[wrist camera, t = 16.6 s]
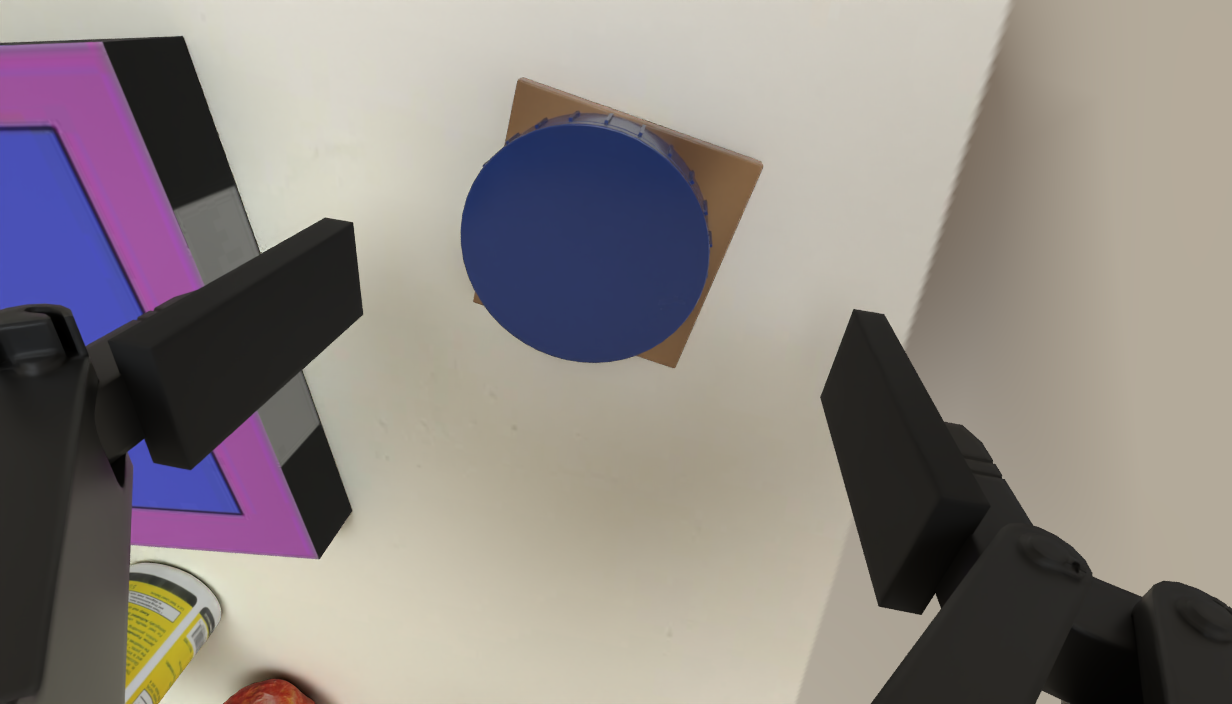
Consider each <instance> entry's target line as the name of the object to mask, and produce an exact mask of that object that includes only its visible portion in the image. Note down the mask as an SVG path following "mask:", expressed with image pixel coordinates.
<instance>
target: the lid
mask: <svg viewBox="0 0 1232 704" xmlns="http://www.w3.org/2000/svg"><path fill="white" fill-rule="evenodd" d="M613 115H614V113H610V114H609V115H605V114H598V113H580V111H576V112H574V113H573V114H568V115H562V116H558V117H555V118H551V119H548V118H547V117H546V118H544V119H542V120H541V121H540V122H538V123H537V124H536V125H535V126H532V127H531V128H529V129H528V130H526V131H525V132H523V133H522V134H519V132H518V133H517V134H515V135H514V136H513V137H511V138H510V139H509V140H507V141H506V142H505V143H506V146H504V147H503V148H502V149H501V150H500V151H498V152H497V153H496V154H495V155H494V156H493V157H492V158H491V159H490V160H489V161H487V162H486V163H485V164H484V165H483V168H482V170H481V171H480V173H479V174H478V176H477V178H476V179H475V181H474V182H473V184H472V186H471V189H470V191H469V194H468V196H467V198H466V202H465V206H464V210H463V214H462V222H461V247H462V254H463V260H464V264H465V267H466V271H467V274H468V277H469V279H470V281H471V284H472V286H473V288H474V290H475V292H476V294H477V295H478V297H479V299H480V300H481V302H482V303H483V305H484V306H485V308H486V309H487V310H488V312H489V313H490V314H491V315H492V316H493V317H494V318H495V320H496V321H497V322H498V323H499V324H500V325H501V326H502V327H504V328H505V329H506V330H507V331H508V332H509V333H511V334H512V335H513V336H515V337H516V338H518V339H519V340H520V341H522V342H523V343H525V344H527V345H529V346H531V347H533V348H534V349H536V350H538V351H541V352H543V353H546V354H548V355H551V356H554V357H558V358H561V359H565V360H570V361H577V362H588V363H600V362H612V361H617V360H623V359H626V358H630V357H633V356H636V355H639V354H641V353H643V352H645V351H648V350H650V349H652V348H653V347H655V346H657V345H658V344H660V343H662V342H663V341H665V340H666V339H667V338H668V337H669V336H671V335H672V334H673V333H674V332H675V331H676V330H677V329H678V328H679V327H680V326H681V325H682V324H683V323H684V322H685V321H686V319H687V318H688V317H689V315H690V314H691V312H692V311H693V310H694V308H695V306H696V304H697V302H698V300H699V298H700V296H701V294H702V291H703V288H704V285H705V283H706V278H708V269H709V258H710V247H712V232H711V231H709V226H708V204H707V200H704V198H703V195H702V193H701V190H700V187H699V185H698V183H697V181H696V179H695V172H694V170H692V171H691V170H690V169H689V167H688V166H687V165H686V163H685V162H684V160H683V159H682V158H681V157H680V156H679V155H678V154H677V152H676V151H675V150H674V149H673V148H674V146H673V145H672V144H671V145H669V144H667V143H666V142H665V141H664V140H662V139H661V138H660V137H659V136H657V135H656V134H654V133H653V132H651V131H649V130H648V129H646V128H645V127H646V125H644V124H643V125H642V126H640V125H638V124H636V123H633V122H631V121H629V120H626V119H622V118H619V117H616V116H613Z"/></svg>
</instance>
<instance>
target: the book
mask: <svg viewBox="0 0 1232 704" xmlns="http://www.w3.org/2000/svg"><path fill="white" fill-rule="evenodd" d="M258 255H260V252H259V249H258V246H257V243H256V240H255V238H254V235H253V232H252V229H251V226H250V224H249V221H248V218H247V215H246V212H245V210H244V207H243V204H242V201H241V198H240V196H239V193H238V190H237V187H236V184H235V182H234V179H233V176H232V173H231V170H230V168H229V165H228V162H227V159H226V156H225V154H224V151H223V148H222V145H221V142H220V140H219V137H218V134H217V131H216V128H215V126H214V123H213V120H212V117H211V114H210V112H209V109H208V106H207V103H206V100H205V98H204V95H203V92H202V89H201V86H200V84H199V81H198V78H197V75H196V72H195V70H194V67H193V64H192V61H191V58H190V56H189V53H188V50H187V47H186V44H185V42H184V39H183V36H176V37H149V38H122V39H95V40H68V41H40V42H13V43H0V310H1V309H4V308H9V307H14V306H20V305H26V304H45V303H46V304H55V305H62V306H64V307H66V308H69V309H71V311H72V314H73V316H74V319H75V321H76V324H77V326H78V329H79V331H80V334H81V336H82V339H83V341H84V344H85V346H86V345H88V344H90V343H92V342H94V341H95V340H97V339H99V338H101V337H103V336H104V335H106V334H108V333H110V332H112V331H114V330H115V329H117V328H119V327H121V326H123V325H124V324H126V323H128V322H130V321H132V320H137V317H139V316H141V315H142V314H144V313H146V312H148V311H150V310H151V311H154V308H155V307H157V306H159V305H161V304H162V303H164V302H166V301H168V300H170V299H171V298H173V297H176V296H179V295H182V294H185V293H188V292H192V291H195V290H198V289H200V288H201V287H203V286H205V285H207V284H208V283H210V282H212V281H214V280H216V279H217V278H219V277H221V276H223V275H224V274H226V273H228V272H230V271H232V270H233V269H235V268H237V267H239V266H240V265H242V264H244V263H246V262H247V261H249V260H251V259H253V258H255V257H256V256H258ZM128 454H129V457H130V459H131V462H132V464H133V491H132V518H131V545H138V546H151V547H164V548H178V549H191V550H204V551H217V552H230V553H244V554H257V555H270V556H283V557H296V558H309V559H320V558H321V556H322V555H323V553H324V552H325V550H326V549H327V547H328V546H329V544H330V543H331V542H332V540H333V539H334V537H335V536H336V534H337V533H338V531H339V530H340V528H341V527H342V525H343V524H344V522H345V521H346V519H347V518H348V516H349V515H350V513H351V512H352V509H351V507H350V504H349V501H348V498H347V495H346V493H345V490H344V487H343V484H342V481H341V479H340V476H339V473H338V470H337V467H336V465H335V462H334V459H333V456H332V453H331V451H330V448H329V445H328V442H327V439H326V437H325V434H324V431H323V428H322V425H321V423H320V420H319V417H318V414H317V411H316V409H315V406H314V403H313V400H312V397H311V394H310V392H309V389H308V386H307V383H306V380H305V378H304V375H303V372H302V370H301V371H300V372H299V373H298V374H297V375H296V376H295V377H294V378H292V379H291V380H290V381H289V382H288V383H287V384H286V385H285V386H284V387H283V388H281V389H280V390H279V391H278V392H277V393H276V394H275V395H274V396H273V397H271V398H270V399H269V400H268V401H267V402H266V403H265V404H264V405H263V406H262V407H260V408H259V409H258V410H257V411H256V412H255V413H254V414H253V415H252V416H250V417H249V418H248V419H247V420H246V421H245V422H244V423H243V424H242V425H241V426H239V427H238V428H237V429H236V430H235V431H234V432H233V433H232V434H231V435H229V436H228V437H227V438H226V439H225V440H224V441H223V442H222V443H221V444H220V445H218V446H217V447H216V448H215V449H214V450H213V451H212V452H211V453H210V454H208V455H207V456H206V457H205V458H204V459H203V460H202V461H201V462H200V463H199V464H197V465H196V466H195V467H194V468H193V469H192V470H186V469H181V468H176V467H171V466H166V465H161V464H156V463H153V461H152V458H151V456H150V453H149V450H148V448H147V445H146V442H145V440H144V439H143V440H142V441H141V442H140V443H138V444H137V445H136V446H134V447H133V448H132V449H131V450H129V451H128Z"/></svg>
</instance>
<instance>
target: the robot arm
mask: <svg viewBox="0 0 1232 704" xmlns="http://www.w3.org/2000/svg"><path fill="white" fill-rule="evenodd" d="M362 315H363V308H362V299H361V290H360V281H359V272H358V262H357V253H356V244H355V235H354V226H353V222H348V221H342V220H336V219H330V218H324V219H322V220H320V221H318V222H317V223H315V224H313V225H311V226H310V227H308V228H306V229H304V230H302V231H301V232H299V233H297V234H295V235H294V236H292V237H290V238H288V239H286V240H285V241H283V242H281V243H279V244H278V245H276V246H274V247H272V248H271V249H269V250H267V251H265V252H263V253H262V254H260V255H258V256H256V257H255V258H253V259H251V260H249V261H247V262H246V263H244V264H242V265H240V266H239V267H237V268H235V269H233V270H232V271H230V272H228V273H226V274H224V275H223V276H221V277H219V278H217V279H216V280H214V281H212V282H210V283H208V284H207V285H205V286H203V287H201V288H200V289H198V290H195V291H192V292H188V293H185V294H182V295H179V296H176V297H173V298H171V299H170V300H168V301H166V302H164V303H162V304H161V305H159V306H157V307H155V308H154V311H151V310H150V311H148V312H146V313H144V314H142V315H141V316H139V317H137V320H132V321H130V322H128V323H126V324H124V325H123V326H121V327H119V328H117V329H115V330H114V331H112V332H110V333H108V334H106V335H104V336H103V337H101V338H99V339H97V340H95V341H94V342H92V343H90V344H88V345H86V346H85V344H84V341H83V339H82V336H81V334H80V331H79V329H78V326H77V324H76V321H75V319H74V316H73V314H72V311H71V309H69V308H66V307H64V306H62V305H55V304H46V303H45V304H26V305H20V306H14V307H9V308H4V309H1V310H0V704H125V682H126V654H127V627H128V600H129V573H130V545H131V518H132V491H133V464H132V462H131V459H130V457H129V454H128V451H129V450H131V449H132V448H133V447H134V446H136V445H137V444H138V443H140V442H141V441H142V440H143V439H144V440H145V442H146V445H147V448H148V450H149V453H150V456H151V458H152V461H153V463H156V464H161V465H166V466H171V467H176V468H181V469H186V470H192V469H193V468H194V467H195V466H196V465H197V464H199V463H200V462H201V461H202V460H203V459H204V458H205V457H206V456H207V455H208V454H210V453H211V452H212V451H213V450H214V449H215V448H216V447H217V446H218V445H220V444H221V443H222V442H223V441H224V440H225V439H226V438H227V437H228V436H229V435H231V434H232V433H233V432H234V431H235V430H236V429H237V428H238V427H239V426H241V425H242V424H243V423H244V422H245V421H246V420H247V419H248V418H249V417H250V416H252V415H253V414H254V413H255V412H256V411H257V410H258V409H259V408H260V407H262V406H263V405H264V404H265V403H266V402H267V401H268V400H269V399H270V398H271V397H273V396H274V395H275V394H276V393H277V392H278V391H279V390H280V389H281V388H283V387H284V386H285V385H286V384H287V383H288V382H289V381H290V380H291V379H292V378H294V377H295V376H296V375H297V374H298V373H299V372H300V371H301V370H302V369H303V368H305V367H306V366H307V365H308V364H309V363H310V362H311V361H312V360H313V359H315V358H316V357H317V356H318V355H319V354H320V353H321V352H322V351H323V350H324V349H326V348H327V347H328V346H329V345H330V344H331V343H332V342H333V341H334V340H336V339H337V338H338V337H339V336H340V335H341V334H342V333H343V332H344V331H345V330H347V329H348V328H349V327H350V326H351V325H352V324H353V323H354V322H355V321H357V320H358V319H359V318H360V317H361V316H362ZM820 398H821V402H822V405H823V409H824V412H825V416H826V419H827V423H828V427H829V430H830V434H831V437H832V441H833V445H834V448H835V452H836V455H837V459H838V463H839V466H840V470H841V473H842V477H843V480H844V484H845V488H846V491H847V495H848V498H849V502H850V506H851V509H852V513H853V516H854V520H855V523H856V527H857V531H858V534H859V538H860V541H861V545H862V548H863V552H864V556H865V559H866V563H867V567H868V570H869V574H870V577H871V581H872V584H873V588H874V592H875V595H876V599H877V602H878V606H879V607H884V608H889V609H894V610H899V611H904V612H909V613H915V614H919V615H922V613H923V612H924V610H925V609H926V607H927V605H928V604H929V602H930V601H931V599H932V598H933V596H934V594H935V593H936V596H937V599H938V601H939V604H940V606H941V610H940V611H939V612H938V614H937V615H936V617H935V618H934V619H933V621H932V622H931V623H930V625H929V626H928V627H927V629H926V630H925V632H924V633H923V634H922V636H921V637H920V638H919V639H918V641H917V642H916V644H915V645H914V646H913V648H912V649H911V650H910V652H909V653H908V655H907V656H906V657H905V658H904V660H903V661H902V662H901V664H900V665H899V666H898V668H897V669H896V671H895V672H894V673H893V674H892V676H891V677H890V679H889V680H888V681H887V683H886V684H885V685H884V687H883V688H882V689H881V691H880V692H879V693H878V695H877V696H876V697H875V699H874V700H873V701H872V703H871V704H1035V703H1036V701H1037V699H1038V697H1039V695H1040V692H1041V691H1044V692H1046V693H1048V694H1050V695H1053V696H1055V697H1057V698H1059V699H1061V704H1232V608H1230V607H1228V606H1227V605H1226V604H1225V603H1223V602H1222V601H1220V600H1218V599H1217V598H1215V597H1212V596H1210V595H1209V594H1207V593H1205V592H1203V591H1201V590H1199V589H1197V588H1194V587H1191V586H1188V585H1185V584H1182V583H1180V582H1170V581H1162V582H1160V583H1157V584H1155V585H1153V586H1152V588H1151V589H1150V590H1149V591H1148V592H1147V593H1146V594H1145V595H1144V596H1143V597H1141V596H1138V595H1136V594H1134V593H1131V592H1129V591H1126V590H1124V589H1121V588H1119V587H1116V586H1114V585H1111V584H1109V583H1106V582H1104V581H1102V580H1099V579H1097V578H1095V577H1093V576H1092V572H1091V570H1090V568H1089V566H1088V565H1087V563H1086V561H1085V559H1084V558H1083V557H1082V556H1081V555H1080V554H1079V553H1078V552H1077V551H1076V550H1075V549H1074V548H1073V547H1072V546H1070V545H1069V544H1068V543H1066V542H1065V541H1063V540H1062V539H1060V538H1059V537H1057V536H1056V535H1054V534H1052V533H1050V532H1048V531H1046V530H1044V529H1042V528H1039V527H1036V526H1033V524H1032V523H1031V521H1030V520H1029V518H1028V516H1027V515H1026V513H1025V511H1024V510H1023V508H1022V507H1021V505H1020V503H1019V502H1018V500H1017V499H1016V497H1015V495H1014V494H1013V492H1012V490H1011V489H1010V487H1009V486H1008V484H1007V482H1006V481H1005V479H1002V474H1001V473H1000V471H999V469H998V468H997V466H996V464H993V460H992V458H991V456H990V455H989V453H988V451H987V450H986V448H985V447H984V445H983V443H982V442H981V441H980V440H979V439H977V438H976V437H975V436H974V435H973V434H972V433H971V432H969V431H968V430H967V429H966V428H965V427H964V426H963V425H959V424H953V423H948V422H944V421H943V419H942V417H941V416H940V414H939V412H938V410H937V408H936V407H935V405H934V403H933V401H932V399H931V398H930V396H929V394H928V392H927V390H926V389H925V387H924V385H923V383H922V381H921V380H920V378H919V376H918V374H917V373H916V371H915V369H914V367H913V365H912V364H911V362H910V360H909V358H908V356H907V354H906V353H905V351H904V349H903V347H902V345H901V344H900V342H899V340H898V338H897V336H896V335H895V333H894V331H893V329H892V327H891V326H890V324H889V322H888V320H887V318H886V317H885V315H884V314H879V313H874V312H868V311H862V310H856V309H853V312H852V315H851V317H850V320H849V323H848V325H847V328H846V331H845V333H844V336H843V338H842V341H841V344H840V346H839V349H838V352H837V354H836V357H835V360H834V362H833V365H832V368H831V370H830V373H829V375H828V378H827V381H826V383H825V386H824V389H823V391H822V394H821V397H820Z"/></svg>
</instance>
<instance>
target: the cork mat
mask: <svg viewBox="0 0 1232 704" xmlns="http://www.w3.org/2000/svg"><path fill="white" fill-rule="evenodd" d="M576 111H580V113H598V114H605V115H609V114H610V113H614V115H613V116H616V117H619V118H622V119H626V120H629V121H631V122H633V123H636V124H638V125H640V126H642V125H643V124H644V125H646V127H645V128H646V129H648V130H649V131H651V132H653V133H654V134H656V135H657V136H659V137H660V138H661V139H662V140H664V141H665V142H666V143H667V144H669V145H671V144H672V145H673V146H674V148H673V149H674V150H675V151H676V152H677V154H678V155H679V156H680V157H681V158H682V159H683V160H684V162H685V163H686V165H687V166H688V167H689V169H690V170H691V171H692V170H694V172H695V179H696V181H697V183H698V185H699V187H700V190H701V193H702V195H703V198H704V200H707V204H708V226H709V231H711V232H712V247H710V258H709V269H708V278H706V283H705V285H704V288H703V291H702V294H701V296H700V298H699V300H698V302H697V304H696V306H695V308H694V310H693V311H692V312H691V314H690V315H689V317H688V318H687V319H686V321H685V322H684V323H683V324H682V325H681V326H680V327H679V328H678V329H677V330H676V331H675V332H674V333H673V334H672V335H671V336H669V337H668V338H667V339H666V340H665V341H663V342H662V343H660V344H658V345H657V346H655V347H653V348H652V349H650V350H648V351H645V352H643V353H641V354H639V355H636V356H638V357H641V358H645V359H648V360H651V361H654V362H657V363H660V364H663V365H666V366H669V367H672V368H675V367H676V365H677V363H678V360H679V358H680V356H681V353H682V351H683V349H684V347H685V344H686V342H687V340H688V337H689V335H690V333H691V331H692V328H693V326H694V324H695V322H696V319H697V317H698V315H699V312H700V310H701V308H702V306H703V303H704V301H705V299H706V296H707V294H708V292H709V290H710V287H711V285H712V283H713V280H714V278H715V276H716V274H717V271H718V269H719V267H720V265H721V262H722V260H723V258H724V255H725V253H726V251H727V249H728V246H729V244H730V242H731V239H732V237H733V235H734V233H735V230H736V228H737V226H738V224H739V221H740V219H741V217H742V214H743V212H744V210H745V208H746V205H747V203H748V201H749V198H750V196H751V194H752V192H753V189H754V187H755V185H756V182H757V180H758V178H759V176H760V173H761V171H762V169H763V164H762V162H761V161H759V160H756V159H753V158H750V157H747V156H744V155H742V154H739V153H736V152H733V151H730V150H727V149H725V148H722V147H719V146H716V145H713V144H711V143H708V142H705V141H702V140H699V139H696V138H694V137H691V136H688V135H685V134H682V133H679V132H677V131H674V130H671V129H668V128H665V127H662V126H660V125H657V124H654V123H651V122H648V121H645V120H643V119H640V118H637V117H634V116H631V115H628V114H626V113H623V112H620V111H617V110H614V109H611V108H609V107H606V106H603V105H600V104H597V103H594V102H592V101H589V100H586V99H583V98H580V97H577V96H575V95H572V94H569V93H566V92H563V91H561V90H558V89H555V88H552V87H549V86H546V85H544V84H541V83H538V82H535V81H532V80H529V79H527V78H524V77H523V78H520V79H518V81H517V86H516V90H515V95H514V100H513V105H512V110H511V115H510V120H509V125H508V130H507V135H506V140H505V142H506V141H507V140H509V139H510V138H511V137H513V136H514V135H515V134H517V133H518V132H519V134H522V133H523V132H525V131H526V130H528V129H529V128H531V127H532V126H535V125H536V124H537V123H538V122H540V121H541V120H542V119H544V118H546V117H547V118H548V119H551V118H555V117H558V116H562V115H568V114H573V113H574V112H576ZM504 146H506V143H505V145H504ZM473 302H475V303H478V304H481V305H483V303H482V302H481V300H480V299H479V297H478V295H477V294H476V292H475V294H474V299H473Z"/></svg>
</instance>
